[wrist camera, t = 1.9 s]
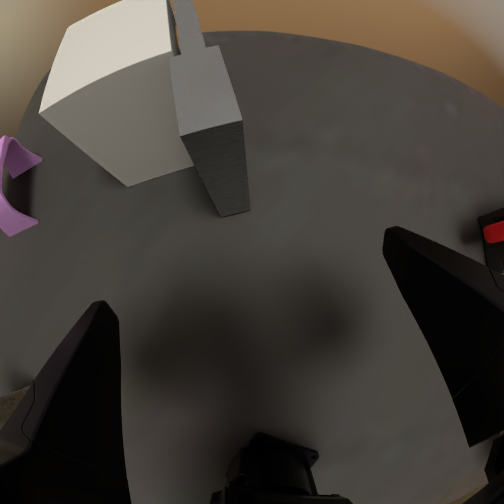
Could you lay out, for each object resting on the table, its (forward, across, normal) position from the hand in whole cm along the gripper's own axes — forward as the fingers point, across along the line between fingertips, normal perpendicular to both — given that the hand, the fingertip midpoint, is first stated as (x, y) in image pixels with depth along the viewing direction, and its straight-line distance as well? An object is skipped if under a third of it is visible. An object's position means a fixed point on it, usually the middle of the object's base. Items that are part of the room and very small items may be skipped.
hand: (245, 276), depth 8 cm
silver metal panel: (+19, 0, 0) cm, 19 cm away
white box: (+21, +5, -2) cm, 21 cm away
